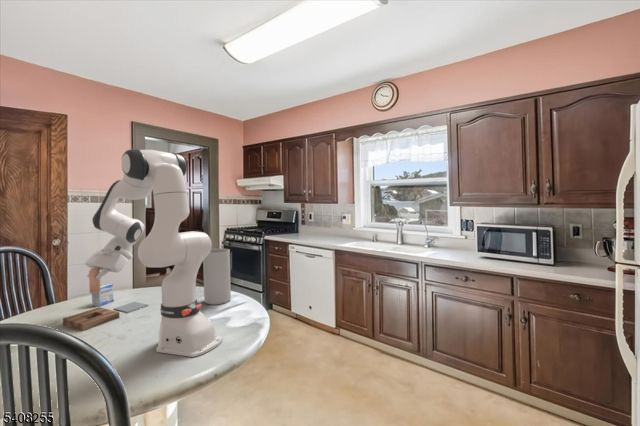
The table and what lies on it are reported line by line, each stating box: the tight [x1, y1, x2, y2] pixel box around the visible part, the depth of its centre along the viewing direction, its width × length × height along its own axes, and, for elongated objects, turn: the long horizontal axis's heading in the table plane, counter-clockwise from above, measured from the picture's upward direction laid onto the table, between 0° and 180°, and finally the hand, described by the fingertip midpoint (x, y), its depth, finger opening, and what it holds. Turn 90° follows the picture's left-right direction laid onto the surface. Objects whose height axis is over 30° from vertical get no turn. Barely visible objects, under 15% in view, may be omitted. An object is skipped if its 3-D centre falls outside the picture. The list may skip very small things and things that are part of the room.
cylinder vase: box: [202, 248, 232, 306], centre depth 154 cm, size 12×12×25 cm
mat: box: [113, 301, 149, 314], centre depth 146 cm, size 10×10×1 cm
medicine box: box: [91, 283, 115, 307], centre depth 152 cm, size 8×4×9 cm, turn 168°
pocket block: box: [62, 306, 120, 332], centre depth 131 cm, size 14×14×2 cm
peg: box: [88, 269, 101, 294], centre depth 132 cm, size 4×4×9 cm
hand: (92, 278), depth 131 cm, fingers closed on peg, 4 cm apart
